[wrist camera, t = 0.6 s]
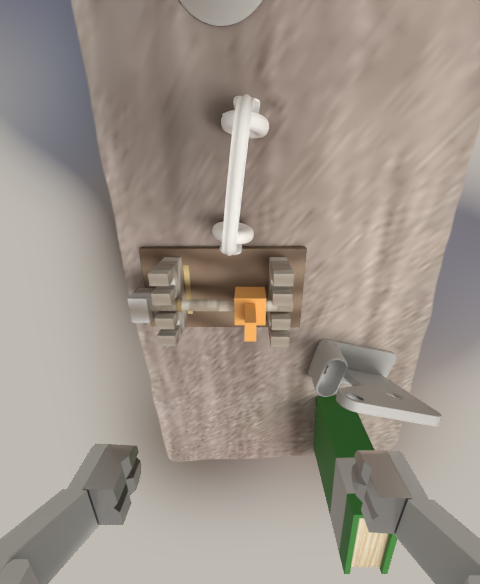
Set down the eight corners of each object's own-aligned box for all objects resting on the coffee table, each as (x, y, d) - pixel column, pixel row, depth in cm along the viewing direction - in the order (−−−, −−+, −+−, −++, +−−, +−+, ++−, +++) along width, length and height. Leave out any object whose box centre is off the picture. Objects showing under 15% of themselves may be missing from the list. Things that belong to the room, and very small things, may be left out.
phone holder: (304, 374, 61) (326, 448, 44) (318, 336, 57) (348, 403, 40) (378, 387, 61) (426, 465, 45) (397, 351, 57) (457, 422, 41)
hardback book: (342, 447, 69) (387, 573, 47) (313, 448, 70) (344, 573, 48) (348, 395, 62) (404, 514, 40) (316, 396, 63) (353, 515, 41)
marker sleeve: (235, 286, 46) (232, 316, 37) (264, 286, 46) (269, 317, 36) (235, 311, 48) (232, 346, 38) (263, 311, 48) (267, 346, 38)
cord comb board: (141, 247, 50) (116, 264, 40) (304, 246, 49) (318, 264, 39) (153, 322, 56) (134, 353, 47) (298, 323, 55) (308, 354, 46)
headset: (251, 243, 49) (252, 277, 33) (212, 238, 49) (194, 270, 33) (269, 115, 41) (283, 74, 25) (223, 108, 41) (206, 64, 25)
